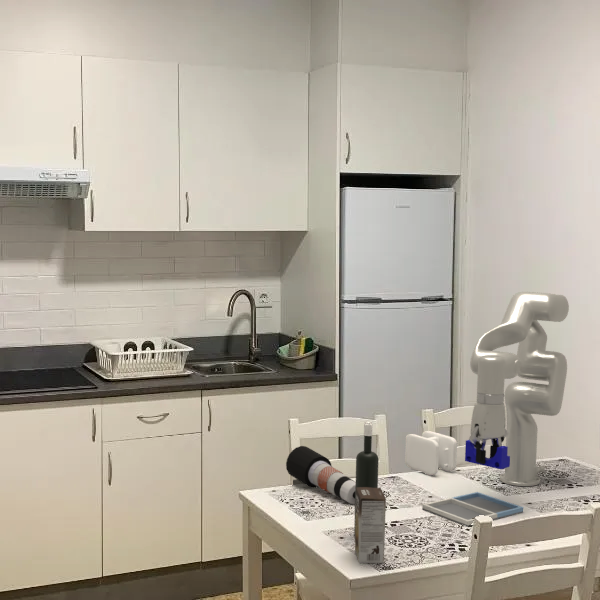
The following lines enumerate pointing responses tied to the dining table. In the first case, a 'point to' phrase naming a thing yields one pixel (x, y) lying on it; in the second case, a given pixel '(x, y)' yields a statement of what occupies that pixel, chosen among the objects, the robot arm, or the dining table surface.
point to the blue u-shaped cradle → (496, 462)
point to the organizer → (430, 452)
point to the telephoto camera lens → (319, 473)
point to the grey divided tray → (472, 508)
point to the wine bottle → (366, 464)
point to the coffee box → (370, 525)
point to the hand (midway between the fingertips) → (487, 460)
